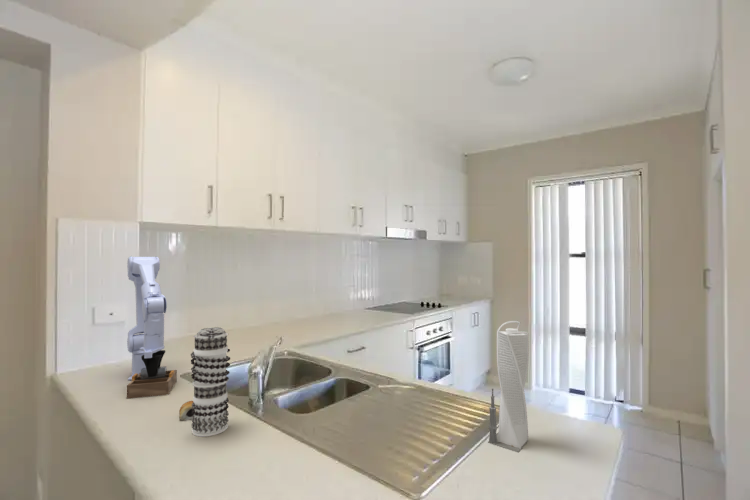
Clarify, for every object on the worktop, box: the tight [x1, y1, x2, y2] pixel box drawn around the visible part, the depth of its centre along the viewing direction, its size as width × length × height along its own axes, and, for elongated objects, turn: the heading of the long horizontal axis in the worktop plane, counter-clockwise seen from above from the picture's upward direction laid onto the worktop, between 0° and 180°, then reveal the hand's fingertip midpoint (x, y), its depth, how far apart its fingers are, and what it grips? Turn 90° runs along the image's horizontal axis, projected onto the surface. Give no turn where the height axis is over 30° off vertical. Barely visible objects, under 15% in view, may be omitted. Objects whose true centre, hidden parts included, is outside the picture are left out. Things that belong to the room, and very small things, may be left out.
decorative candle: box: [190, 326, 231, 438], centre depth 95 cm, size 9×9×25 cm
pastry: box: [178, 400, 194, 421], centre depth 104 cm, size 9×7×4 cm
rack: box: [126, 369, 178, 400], centre depth 123 cm, size 14×11×5 cm
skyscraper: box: [487, 320, 530, 453], centre depth 88 cm, size 8×8×28 cm
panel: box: [141, 366, 167, 380], centre depth 123 cm, size 2×7×6 cm, turn 108°
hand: (153, 375), depth 123 cm, fingers open, 3 cm apart
